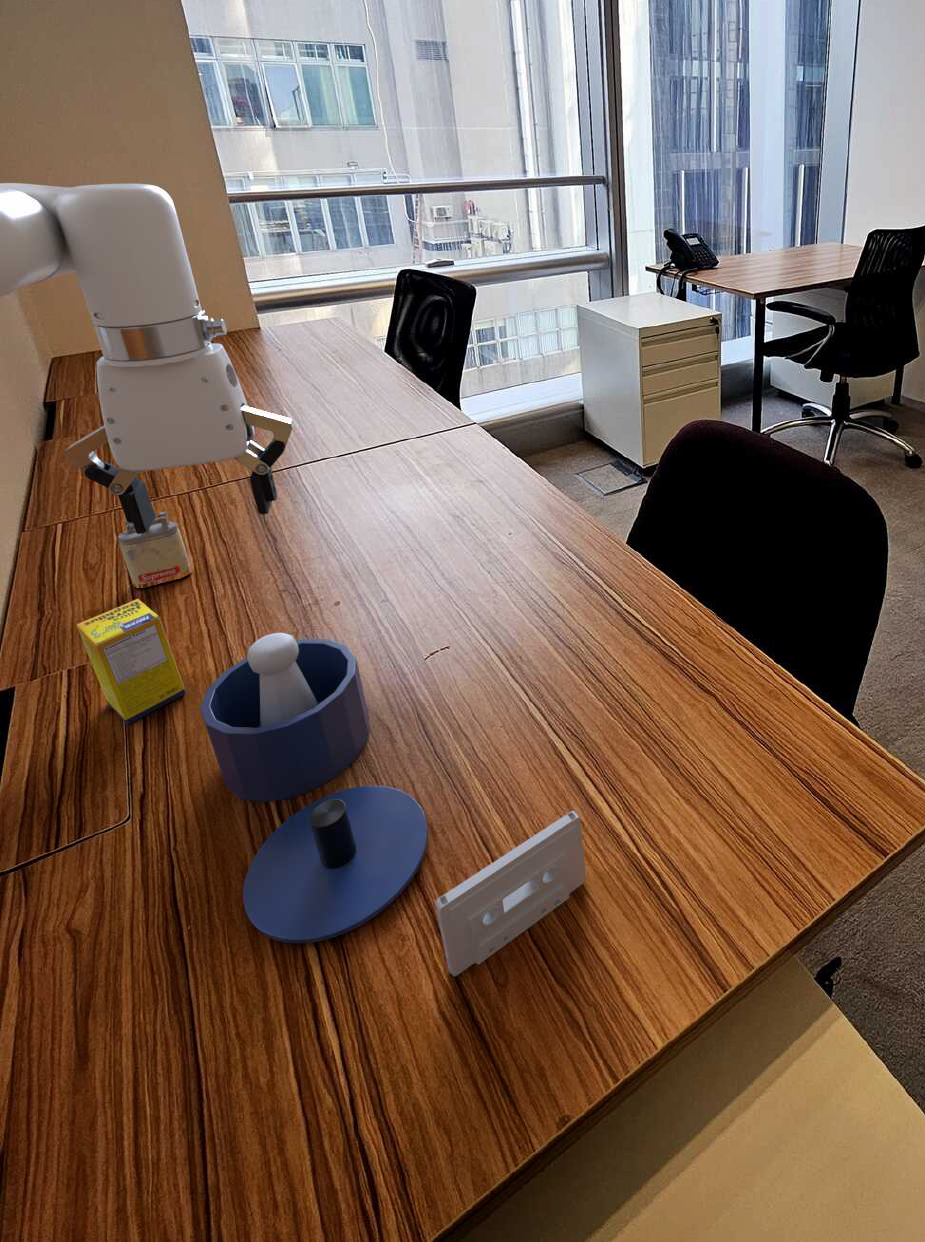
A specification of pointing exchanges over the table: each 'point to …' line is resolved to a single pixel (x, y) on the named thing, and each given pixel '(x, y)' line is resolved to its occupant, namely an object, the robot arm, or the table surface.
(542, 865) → the cassette
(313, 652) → the pot
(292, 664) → the salt shaker
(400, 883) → the pot lid
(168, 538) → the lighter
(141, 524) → the robot arm
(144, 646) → the supplement box
